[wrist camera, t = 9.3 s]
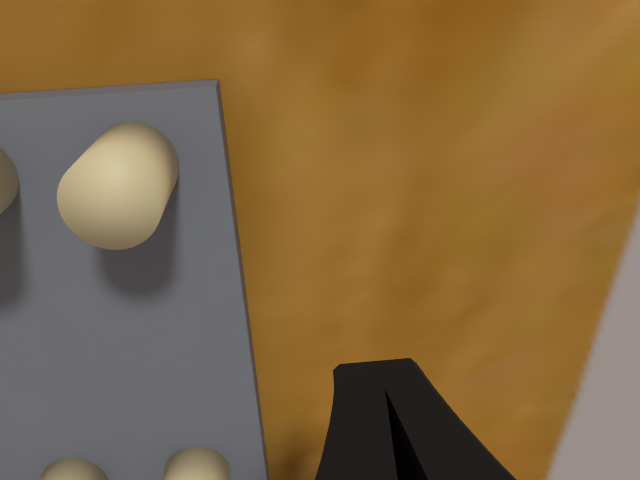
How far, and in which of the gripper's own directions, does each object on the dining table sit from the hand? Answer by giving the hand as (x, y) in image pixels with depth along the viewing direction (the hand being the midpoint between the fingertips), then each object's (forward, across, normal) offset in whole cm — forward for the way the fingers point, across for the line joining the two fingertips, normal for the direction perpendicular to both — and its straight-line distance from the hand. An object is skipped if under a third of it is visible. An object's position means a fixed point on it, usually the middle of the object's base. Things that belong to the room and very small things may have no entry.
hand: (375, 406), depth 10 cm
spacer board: (+9, +14, +4) cm, 17 cm away
